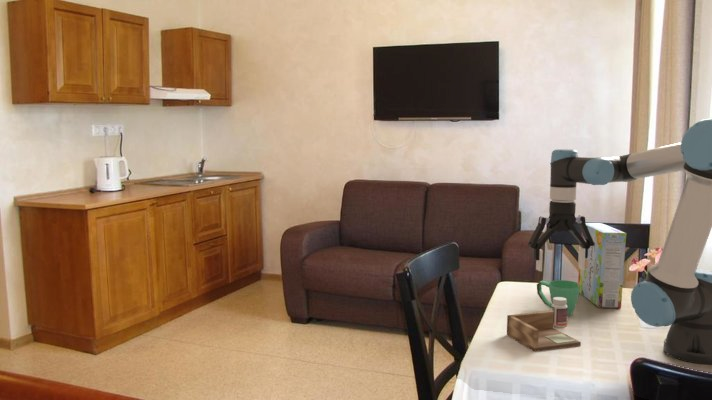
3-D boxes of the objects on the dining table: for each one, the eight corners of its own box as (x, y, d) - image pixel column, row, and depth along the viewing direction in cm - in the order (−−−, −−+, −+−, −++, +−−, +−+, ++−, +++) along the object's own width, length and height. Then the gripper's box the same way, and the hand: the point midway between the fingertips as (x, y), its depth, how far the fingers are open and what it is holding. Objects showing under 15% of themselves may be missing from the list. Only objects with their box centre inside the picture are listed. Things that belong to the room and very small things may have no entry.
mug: (585, 314, 207) (586, 284, 205) (570, 320, 200) (571, 289, 199) (544, 304, 217) (545, 276, 216) (528, 310, 211) (529, 281, 209)
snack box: (624, 308, 212) (628, 232, 209) (597, 308, 213) (601, 232, 209) (599, 291, 234) (603, 221, 231) (576, 291, 234) (579, 221, 231)
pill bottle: (569, 324, 196) (570, 298, 195) (562, 328, 193) (563, 301, 192) (555, 321, 199) (556, 295, 198) (547, 325, 196) (548, 298, 195)
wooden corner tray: (580, 345, 179) (581, 324, 178) (534, 351, 174) (534, 330, 173) (550, 329, 192) (551, 310, 191) (506, 335, 187) (507, 315, 186)
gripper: (595, 198, 198) (592, 265, 201) (518, 200, 195) (516, 268, 197) (607, 201, 191) (604, 270, 193) (528, 203, 187) (526, 274, 190)
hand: (560, 269), depth 195 cm, fingers open, 13 cm apart
